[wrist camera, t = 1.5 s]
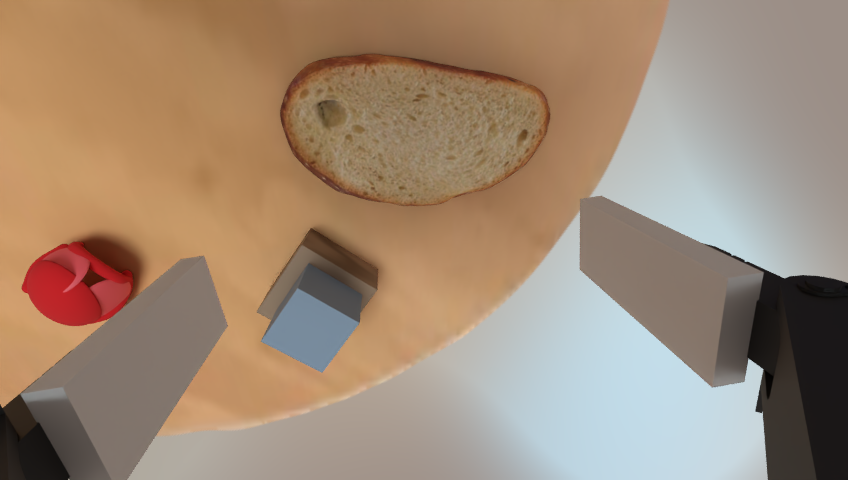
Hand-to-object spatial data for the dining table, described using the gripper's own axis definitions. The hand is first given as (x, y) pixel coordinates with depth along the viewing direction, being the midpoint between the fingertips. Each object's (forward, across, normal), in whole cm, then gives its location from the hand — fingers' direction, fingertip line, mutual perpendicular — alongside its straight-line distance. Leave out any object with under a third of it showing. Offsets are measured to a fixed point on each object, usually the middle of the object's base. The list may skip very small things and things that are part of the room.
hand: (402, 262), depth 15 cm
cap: (+22, -26, -6) cm, 34 cm away
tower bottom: (+22, -8, -10) cm, 25 cm away
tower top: (+17, -7, -10) cm, 21 cm away
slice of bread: (+22, +3, +3) cm, 23 cm away
